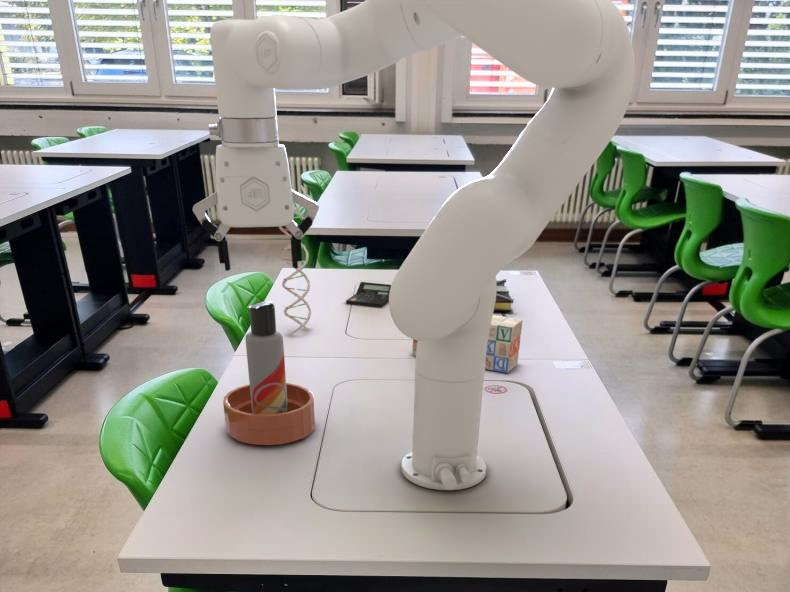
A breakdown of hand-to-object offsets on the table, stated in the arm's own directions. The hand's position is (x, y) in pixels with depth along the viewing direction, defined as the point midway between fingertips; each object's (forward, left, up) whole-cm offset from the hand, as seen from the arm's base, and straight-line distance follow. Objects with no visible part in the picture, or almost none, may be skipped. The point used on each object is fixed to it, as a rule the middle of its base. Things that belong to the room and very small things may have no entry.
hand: (261, 267), depth 106 cm
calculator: (+78, -26, -26) cm, 87 cm away
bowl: (0, +1, -26) cm, 26 cm away
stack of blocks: (+30, -39, -26) cm, 56 cm away
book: (+74, -54, -26) cm, 95 cm away
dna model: (+52, -6, -26) cm, 59 cm away
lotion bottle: (0, 0, -25) cm, 25 cm away
